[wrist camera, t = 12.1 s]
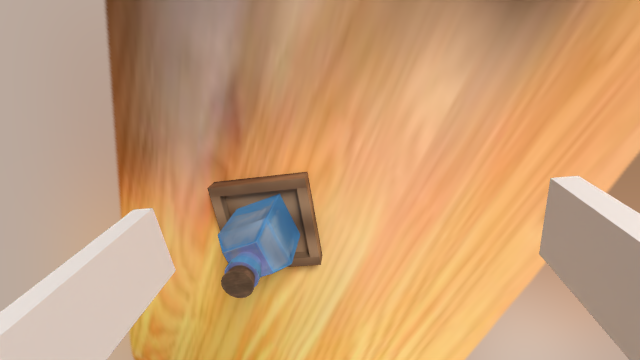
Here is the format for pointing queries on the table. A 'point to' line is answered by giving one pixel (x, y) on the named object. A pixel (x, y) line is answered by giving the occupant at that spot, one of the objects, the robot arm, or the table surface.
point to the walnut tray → (256, 189)
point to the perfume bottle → (257, 244)
